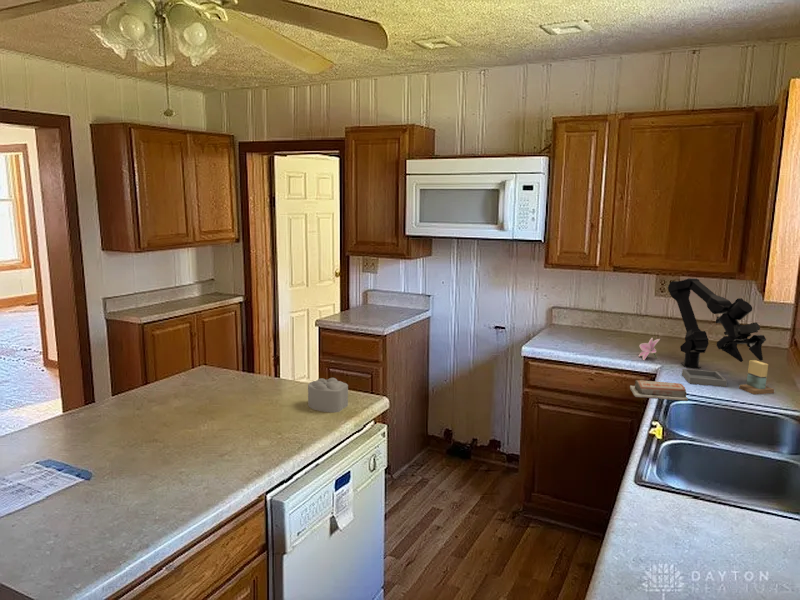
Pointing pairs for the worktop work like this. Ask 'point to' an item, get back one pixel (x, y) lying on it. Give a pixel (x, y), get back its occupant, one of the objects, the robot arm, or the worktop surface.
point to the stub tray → (704, 377)
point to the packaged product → (659, 390)
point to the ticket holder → (756, 385)
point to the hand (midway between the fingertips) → (751, 360)
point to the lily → (648, 348)
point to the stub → (758, 368)
